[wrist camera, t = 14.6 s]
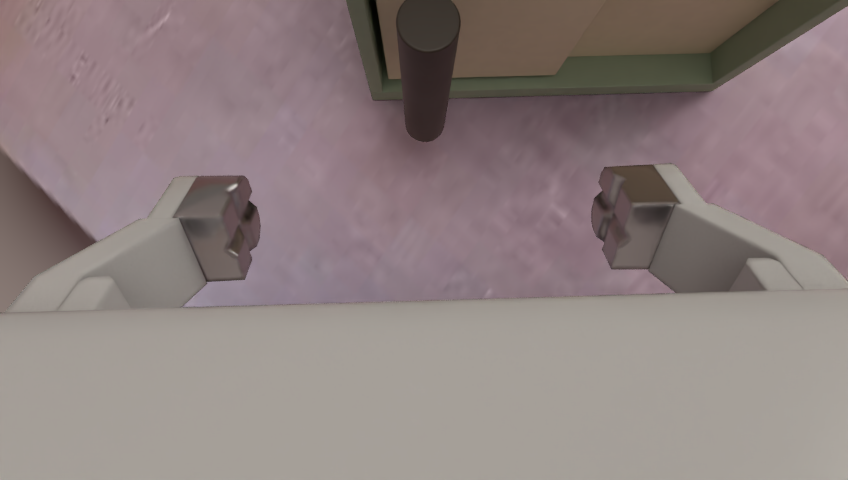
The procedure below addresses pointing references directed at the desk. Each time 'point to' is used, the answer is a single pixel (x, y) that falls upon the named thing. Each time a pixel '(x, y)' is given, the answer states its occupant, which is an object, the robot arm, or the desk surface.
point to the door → (472, 46)
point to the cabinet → (631, 47)
